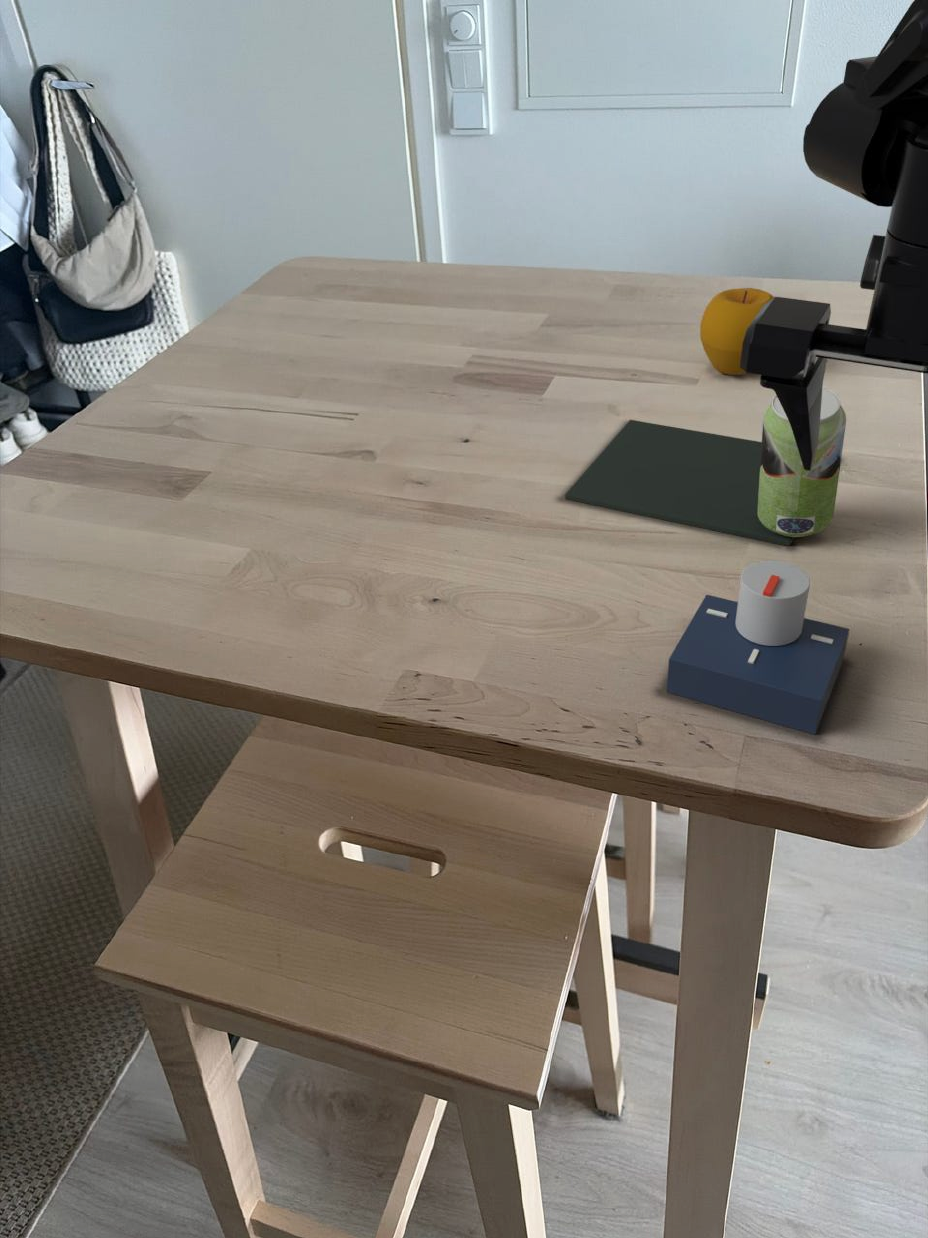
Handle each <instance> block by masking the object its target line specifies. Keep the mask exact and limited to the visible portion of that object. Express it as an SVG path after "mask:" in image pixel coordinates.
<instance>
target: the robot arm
mask: <svg viewBox="0 0 928 1238" xmlns="http://www.w3.org/2000/svg"><path fill="white" fill-rule="evenodd" d="M909 5H910V6H909V7H908V8H907V10H906V12H905V13H904V15H903V16H902V18H901V19H900V20H899V22H898V24H897V25H896V26H895V29H894V30H893V31H892V33H891V34H890V36H889V37H888V40H887V41H886V42H885V44H884V45H883V47H882V48H881V50H880V51H879V53H878V54H877V56H876V55H875V56H869V57H861V58H860V57H859V58H853V59H849V60H848V61H847V62H846V63H845V64H846V65H845V70H844V76H843V82H842V83H840V84H838V85H837V86H836V87H834V88H833V89H831V91H829V92H828V93H827V95H825V97H824V98H823V99H822V100H821V101H820V102H819V104H818V106H817V107H816V109H814V112H813V113H812V116H811V119H810V121H809V123H807V125H806V126H805V129H804V133H803V140H802V141H803V143H802V145H803V146H802V152H803V156H804V161H805V163H806V165H807V167H808V169H809V170H810V171H811V173H812V174H813V175H814V176H815V177H817V178H819V179H821V180H823V181H825V182H827V183H829V184H831V185H833V186H835V187H838V188H840V189H841V190H844V191H845V192H847V193H850V194H852V195H854V196H856V197H858V198H860V199H863V200H864V201H866V202H869V203H871V204H873V205H875V206H877V207H883V208H890V207H891V210H890V214H889V219H888V224H887V228H886V233H885V235H879V234H873V235H872V237H871V240H870V243H869V247H868V250H867V251H868V252H867V254H866V257H865V261H864V265H863V268H862V273H861V277H860V284H859V287H860V289H862V290H870V291H873V294H872V299H871V304H870V309H869V314H868V320H867V324H866V328H859V327H852V326H846V325H845V326H843V325H837V324H830V319H831V314H832V310H831V309H832V308H831V303H828V302H820V301H812V300H806V299H798V298H790V297H782V296H773V297H774V298H773V299H771V300H770V301H769V302H768V303H766V304H765V305H764V306H763V308H762V309H761V310H760V312H759V313H758V314H757V316H756V317H755V319H754V320H753V321H752V323H751V324H750V326H749V327H748V328H747V330H746V334H745V337H744V340H743V345H742V353H741V361H740V368H741V369H742V370H744V371H745V372H746V373H745V374H751V375H752V374H753V375H759V376H760V377H759V385H760V386H761V387H762V388H765V389H770V390H773V391H774V393H775V396H776V395H777V397H778V399H779V401H780V404H781V406H782V408H783V410H784V412H785V414H786V416H787V418H788V420H789V423H790V425H791V428H792V431H793V435H794V438H795V441H796V444H797V448H798V451H799V454H800V458H801V461H802V464H803V467H804V470H807V471H810V470H811V469H812V467H813V464H814V461H815V456H816V452H817V447H818V441H819V428H820V415H821V401H822V387H824V379H825V373H826V367H827V363H828V362H827V361H828V359H829V360H835V361H841V362H848V363H854V364H855V363H856V364H862V365H866V366H867V365H868V366H876V367H880V368H887V369H895V370H902V371H907V372H908V371H909V372H915V373H921V374H927V375H928V0H913V1H912V2H911V4H909Z"/></svg>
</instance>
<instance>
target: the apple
mask: <svg viewBox="0 0 928 1238" xmlns="http://www.w3.org/2000/svg"><path fill="white" fill-rule="evenodd" d="M774 297H775V296H774V295H773V294H771V293H769V292H767V291H765V290H762V289H759V288H753V287H743V288H731V289H726V290H723V291H721V292H719V293H717V294H716V295H715V296H714V297H712V298H711V300H710V301H709V302H708V304H707V305H706V306H705V309H704V312H703V314H702V317H701V320H700V326H699V330H700V331H699V338H700V341H701V344H702V348H703V350H704V353H705V354H706V356H707V359H708V361H709V362H710V364H711V365H712V367H713V369H715V370H716V371H717V372H719V373H721V374H722V375H732V376H734V375H742V374H747V373H746V372H745V371H744V370H742V369H741V368H740V361H741V353H742V345H743V340H744V337H745V334H746V330H747V328H748V327H749V326H750V324H751V323H752V321H753V320H754V319H755V317H756V316H757V314H758V313H759V312H760V310H761V309H762V308H763V306H764V305H765V304H766V303H768V302H769V301H770V300H771V299H773V298H774Z"/></svg>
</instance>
